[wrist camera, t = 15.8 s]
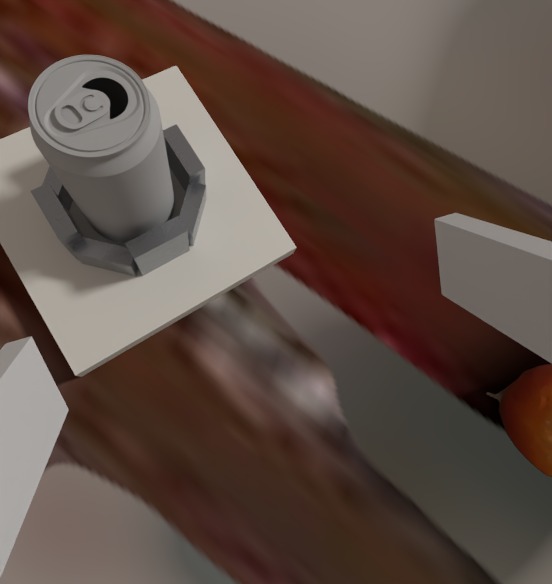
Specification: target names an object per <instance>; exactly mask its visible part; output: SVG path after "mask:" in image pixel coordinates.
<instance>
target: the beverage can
mask: <svg viewBox="0 0 552 584" xmlns="http://www.w3.org/2000/svg"><path fill="white" fill-rule="evenodd" d="M28 111H29V117H30V129H31V134H32V137H33V140H34V142H35V144H36V146H37V148H38V149H39V151H40V152H41V154H42V155H43V156H44V158H45V159H46V161H47V162H48V164H49V165H50V167H51V168H52V170H53V171H54V172H55V174H56V175H57V177H58V178H59V180H60V181H61V183H62V184H63V186H64V187H65V189H66V190H67V191H68V193H69V194H70V196H71V197H72V199H73V200H74V202H75V203H76V205H77V206H78V207H79V209H80V210H81V212H82V213H83V215H84V216H85V218H86V219H87V221H88V222H89V223H90V225H91V226H92V228H93V229H94V230H95V231H96V232H98V233H99V234H100V235H102V236H103V237H105V238H107V239H109V240H112V241H115V242H119V243H126V242H128V241H130V240H132V239H134V238H136V237H138V236H140V235H142V234H144V233H146V232H148V231H150V230H152V229H154V228H156V227H157V226H159V225H161V224H163V223H165V222H167V221H169V220H171V218H172V215H173V212H174V207H175V198H174V192H173V186H172V181H171V175H170V169H169V163H168V157H167V152H166V146H165V140H164V134H163V129H162V123H161V117H160V112H159V107H158V104H157V102H156V100H155V98H154V97H153V95H152V94H151V92H150V91H149V90H148V89H147V87H146V86H145V85H144V83H143V81H142V80H141V79H140V77H139V76H138V75H137V74H136V73H135V72H134V71H133V70H132V69H130V68H129V67H128V66H126V65H125V64H123V63H121V62H119V61H117V60H114V59H111V58H108V57H104V56H99V55H78V56H72V57H69V58H65V59H63V60H60V61H58V62H56V63H54V64H53V65H51V66H50V67H48V68H47V69H46V70H45V71H43V72H42V73H41V75H40V76H39V77H38V78H37V79H36V81H35V82H34V84H33V86H32V88H31V91H30V94H29V99H28Z"/></svg>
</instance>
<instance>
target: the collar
mask: <svg viewBox="0 0 552 584" xmlns="http://www.w3.org/2000/svg"><path fill="white" fill-rule="evenodd" d="M163 134H164V140H165V146H166V152H167V157H168V163H169V167H170V168H171V170H172V172H173V173H174V175H175V176H176V178H177V179H178V181H179V183H180V184H181V186H182V187H183V189H184V190H185V192H186V195H185V198H184V201H183V205H182V208H181V212H180V215H179V217H178V216H177V217H175V218H173V219H171V220H169V221H167V222H165V223H163V224H161V225H159V226H157V227H156V228H154V229H152V230H150V231H148V232H146V233H144V234H142V235H140V236H138V237H136V238H134V239H132V240H130V241H128V242H126V243H125V244H126V246H127V248H125V247H121V246H117V245H113V244H109V243H105V242H101V241H97V240H93V239H89V238H85V237H84V236H83V234H82V232H81V231H80V229H79V227H78V226H77V224H76V222H75V221H74V219H73V217H72V215H71V214H70V212H69V210H70V207H71V204H72V202H73V199H72V197H71V196H70V194H69V193H68V191H67V190H66V189H65V187H64V186H63V184H62V183H61V181H60V180H59V178H58V177H57V175H56V174H55V172H54V171H53V170H52V168H51V167H50V166H49V169H48V171H47V174H46V176H45V179H44V182H43V184H42V186H40V187H38V188H36V189H34V190H31V193H32V195H33V196H34V198H35V200H36V202H37V203H38V205H39V207H40V208H41V210H42V212H43V214H44V215H45V217H46V219H47V220H48V222H49V224H50V226H51V227H52V229H53V231H54V232H55V234H56V236H57V237H58V239H59V241H60V242H61V243H62V244H63V245H64V246H65V247H66V248H67V249H68V251H69V252H70V253H71V254H72V255H73V256H74V257H75V258H76V259H77V260H78V259H79V260H80V261H81V263H82V264H85V265H89V266H94V267H98V268H102V269H106V270H110V271H114V272H118V273H123V274H127V275H131V276H135V277H136V276H137V273H138V270H140V272H141V273H142V275H143V276H144V275H146V274H148V273H149V272H151V271H153V270H155V269H157V268H159V267H160V266H162V265H164V264H166V263H168V262H170V261H172V260H173V259H175V258H177V257H179V256H181V255H183V254H184V253H186V252H188V251H190V249H189V245H192V246H194V243H195V239H196V235H197V232H198V228H199V225H200V221H201V217H202V214H203V210H204V207H205V203H206V185H205V167H204V166H203V164H202V163H201V161H200V160H199V158H198V156H197V155H196V153H195V152H194V150H193V149H192V147H191V146H190V144H189V143H188V141H187V139H186V138H185V136H184V135H183V133H182V132H181V130H180V129H179V127H178V126H177V124H176V125H174V126H171V127H169V128H167V129H165V130H163Z"/></svg>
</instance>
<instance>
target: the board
mask: <svg viewBox="0 0 552 584" xmlns="http://www.w3.org/2000/svg"><path fill="white" fill-rule="evenodd" d="M142 81H143V83H144V85H145V86H146V87H147V89H148V90H149V91H150V92H151V94H152V95H153V97H154V98H155V100H156V102H157V104H158V107H159V112H160V117H161V123H162V129H163V130H165V129H167V128H169V127H171V126H174V125H176V124H177V126H178V127H179V129H180V130H181V132H182V133H183V135H184V136H185V138H186V139H187V141H188V143H189V144H190V146H191V147H192V149H193V150H194V152H195V153H196V155H197V156H198V158H199V160H200V161H201V163H202V164H203V166H204V167H205V185H206V203H205V207H204V210H203V214H202V217H201V221H200V225H199V228H198V232H197V235H196V239H195V243H194V246H192V245H189V249H190V251H188V252H186V253H184V254H183V255H181V256H179V257H177V258H175V259H173V260H172V261H170V262H168V263H166V264H164V265H162V266H160V267H159V268H157V269H155V270H153V271H151V272H149V273H148V274H146V275H144V276H143V275H142V273H141V272H140V270H138V273H137V276H136V277H135V276H131V275H127V274H123V273H118V272H114V271H110V270H106V269H102V268H98V267H94V266H89V265H85V264H82V263H81V261H80V260H79V259H78V260H77V259H76V258H75V257H74V256H73V255H72V254H71V253H70V252H69V251H68V249H67V248H66V247H65V246H64V245H63V244H62V243H61V242H60V241H59V239H58V237H57V236H56V234H55V232H54V231H53V229H52V227H51V226H50V224H49V222H48V220H47V219H46V217H45V215H44V214H43V212H42V210H41V208H40V207H39V205H38V203H37V202H36V200H35V198H34V196H33V195H32V193H31V190H34V189H36V188H38V187H40V186H42V184H43V182H44V179H45V176H46V174H47V171H48V169H49V166H50V165H49V164H48V162H47V161H46V159H45V158H44V156H43V155H42V154H41V152H40V151H39V149H38V148H37V146H36V144H35V142H34V140H33V137H32V134H31V129H30V127H29V128H26V129H24V130H21V131H19V132H17V133H14V134H12V135H10V136H7V137H5V138H2V139H0V243H1V245H2V247H3V249H4V250H5V252H6V254H7V256H8V258H9V259H10V261H11V263H12V265H13V266H14V268H15V270H16V272H17V273H18V275H19V277H20V279H21V280H22V282H23V284H24V286H25V288H26V289H27V291H28V293H29V295H30V296H31V298H32V300H33V302H34V303H35V305H36V307H37V309H38V311H39V312H40V314H41V316H42V318H43V319H44V321H45V323H46V325H47V326H48V328H49V330H50V332H51V334H52V335H53V337H54V339H55V341H56V342H57V344H58V346H59V348H60V349H61V351H62V353H63V355H64V356H65V358H66V360H67V362H68V364H69V365H70V367H71V369H72V371H73V372H74V374H75V376H80V377H82V376H83V375H85V374H87V373H89V372H90V371H92V370H94V369H95V368H97V367H99V366H101V365H102V364H104V363H106V362H107V361H109V360H111V359H113V358H114V357H116V356H118V355H120V354H121V353H123V352H125V351H126V350H128V349H130V348H132V347H133V346H135V345H137V344H138V343H140V342H142V341H144V340H145V339H147V338H149V337H150V336H152V335H154V334H156V333H157V332H159V331H161V330H162V329H164V328H166V327H168V326H169V325H171V324H173V323H174V322H176V321H178V320H180V319H181V318H183V317H185V316H186V315H188V314H190V313H192V312H193V311H195V310H197V309H199V308H200V307H202V306H204V305H205V304H207V303H209V302H211V301H212V300H214V299H216V298H217V297H219V296H221V295H223V294H224V293H226V292H228V291H229V290H231V289H233V288H235V287H236V286H238V285H240V284H241V283H243V282H245V281H247V280H248V279H250V278H252V277H253V276H255V275H257V274H259V273H260V272H262V271H264V270H265V269H267V268H269V267H271V266H272V265H274V264H276V263H278V262H279V261H281V260H283V259H284V258H286V257H288V256H290V255H291V254H293V252H294V251H295V249H296V246H295V244H294V243H293V241H292V240H291V238H290V237H289V235H288V234H287V232H286V231H285V229H284V228H283V226H282V225H281V223H280V222H279V220H278V219H277V217H276V216H275V214H274V213H273V211H272V210H271V208H270V207H269V205H268V204H267V202H266V200H265V199H264V197H263V196H262V194H261V193H260V191H259V190H258V188H257V187H256V185H255V184H254V182H253V181H252V179H251V178H250V176H249V175H248V173H247V172H246V170H245V169H244V167H243V166H242V164H241V163H240V161H239V160H238V158H237V157H236V155H235V153H234V152H233V150H232V149H231V147H230V146H229V144H228V143H227V141H226V140H225V138H224V137H223V135H222V134H221V132H220V131H219V129H218V128H217V126H216V125H215V123H214V122H213V120H212V119H211V117H210V116H209V114H208V113H207V111H206V110H205V108H204V106H203V105H202V103H201V102H200V100H199V99H198V97H197V96H196V94H195V93H194V91H193V90H192V88H191V87H190V85H189V84H188V82H187V81H186V79H185V78H184V76H183V75H182V73H181V72H180V70H179V69H178V67H177V66H174V67H172V68H169V69H167V70H164V71H162V72H160V73H157V74H155V75H153V76H150V77H148V78H145V79H143V80H142ZM169 169H170V175H171V181H172V186H173V192H174V198H175V207H174V212H173V215H172V218H171V219H173V218H175V217H177V216H178V217H179V215H180V212H181V208H182V205H183V201H184V198H185V195H186V192H185V190H184V189H183V187H182V186H181V184H180V183H179V181H178V179H177V178H176V176H175V175H174V173H173V172H172V170H171V168H170V167H169ZM69 212H70V214H71V215H72V217H73V219H74V221H75V222H76V224H77V226H78V227H79V229H80V231H81V232H82V234H83V236H84V237H85V238H89V239H93V240H97V241H101V242H105V243H109V244H113V245H117V246H121V247H125V248H127V246H126V244H125V243H119V242H115V241H112V240H109V239H107V238H105V237H103V236H102V235H100V234H99V233H98V232H96V231H95V230H94V229H93V228H92V226H91V225H90V223H89V222H88V221H87V219H86V218H85V216H84V215H83V213H82V212H81V210H80V209H79V207H78V206H77V205H76V203H75V202H74V200H73V202H72V204H71V207H70V210H69Z"/></svg>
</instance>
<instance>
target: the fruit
mask: <svg viewBox="0 0 552 584" xmlns="http://www.w3.org/2000/svg"><path fill="white" fill-rule="evenodd" d="M486 395H489V396H490V397H493V398H495V399H497V400H498V401H499V404H500V406H499V413H500V417H501V420H502V422H503V425H504V428H505V430H506V432H507V434H508V436H509V438H510V439H511V441H512V442H513V444H514V445H515V446H516V448H517V449H518V450H519V451H520V452H521V453H522V454H523V455H524V456H525V457H526V459H527V460H529V461H530V462H531V463H532V464H533V465H534V466H535V467H536V468H537V469H539V470H540V471H541V472H543V473H544V474H546V475H547V476H551V477H552V364H547V365H541V366H537V367H534V368H532V369H529V370H526V371H524V372H523V373H522V374H521V375H520V377H519V378H518V379H517V380H516V381H514V382H513V383H512V384H510V385H509V386H508V387H507V388H505V389H504V390H502V391H501V392H499V393H498V394H492V393H489V392H487V394H486Z"/></svg>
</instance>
